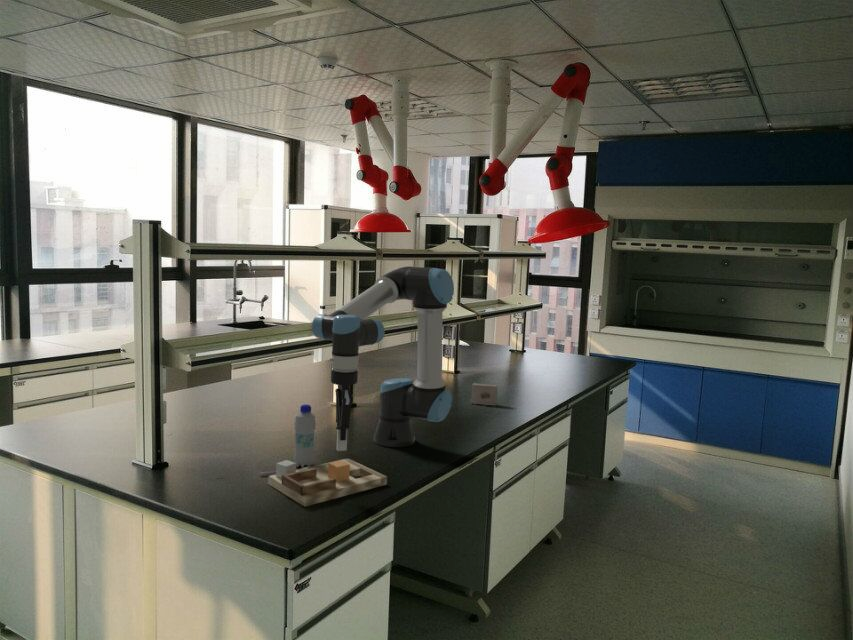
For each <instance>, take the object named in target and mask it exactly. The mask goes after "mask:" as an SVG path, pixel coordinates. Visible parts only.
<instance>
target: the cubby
mask: <svg viewBox="0 0 853 640" xmlns="http://www.w3.org/2000/svg"><path fill="white" fill-rule="evenodd" d="M316 475H317V469H316V468H312V469H308V470H303V471H299V472H294V473H290V474H286V475H282V484H283V485H285V486H286V487H288V488H290V489H291V490H293V491H295V492H296V493H298V494H300V495H301V496H304V495H308V494H312V493H316V492H320V491H324V490H328V489H332V488H335V487H336V479H335V478H332V479H327V480H323V481H319V482H315V483H311V484H307V485H302V484H301V483H299V482H298V481H302V480H306V479H310V478H314V477H316Z"/></svg>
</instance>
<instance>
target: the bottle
mask: <svg viewBox="0 0 853 640" xmlns="http://www.w3.org/2000/svg"><path fill="white" fill-rule="evenodd" d="M299 410H300V412H298V413H296V414H295V418H294V427H293V428H294V431H295V433H294V434H295V435H294V453H293V462H295V463H296V468H300V467H301V469H302V468H305V467H310V466H314V465H313V464H314V462H315V461H314V459H315V450H314V449H315V447H314V443H315V430H316V426H317V425H316V415H315V414H314V413H312V406H311V404H302V405H300V408H299Z"/></svg>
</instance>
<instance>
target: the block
mask: <svg viewBox="0 0 853 640" xmlns="http://www.w3.org/2000/svg"><path fill="white" fill-rule="evenodd" d="M275 465H276V467H275V468H276V469H275V471H276V477H279V478H282V475H286V474H290V473H294V472H296V470H297V466H296V463H295V462H294V461H291V460H288V459H285V460H282V461H279V462H277V463H276V464H275Z"/></svg>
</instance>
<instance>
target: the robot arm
mask: <svg viewBox="0 0 853 640" xmlns="http://www.w3.org/2000/svg"><path fill="white" fill-rule="evenodd" d="M454 293H455V286H454V280H453V278H452V275H451V274H450V272H449V271H448V270H446V269H443V268H437V267H424V266H423V267H421V266H411V265H409V266H403V267H399V268H396V269H393V270H392V271H389V272H387V273H385V274H384V275H381V276H380V277H379V278H377V279H376V281H375V282H374V285H371V287H369V288H367V289H366V290H364V291H363V292H361V293H360V294H359V295H357V296H356V297H353V298H352V299H351V300H349V301H347V302H346V303H345V304H344V305H342V306H341V307H339V308H337V309H336V310H335V311H333V312H331V313H329V314H325V313H324V314H323V313H322V314H317V315H315V316H314V318H313V320H312V323H311V331H312V334H313V335H314V337H316V338H317V339H323V340H325V341H332V342H331V343H332V346H331V347H332V348H331V349H332V351H331V357H330V358H329V361H330V362H331V368H332V369H331V371H330V383H332V384H333V385H336V386H337V388H335V390H334V391H335V423H336V427H335V429H336V451H337V452H344V451H345V452H346V451H347V450H348V448H347V446H348V429H350V424H351V411H352V402H353V398H352V396H353V395H352V394H353V392H352V389H351V386H352V385H356V384H357V383H358V377H359V376H358V373H359V372H358V369H359V349H360V347H364V346H372V345H375V344H377V343H380V342H381V341H382V340H384V338H385V337H384V336H385V332H386V331H385V325H384V324H383V323H382V321H380V320H379V319H376V318H368V317H370V316H372V315H373V314H374V313H376V312H377V311H379V310H380V309H382V307H383V306H385V305H387V304H392V303H395V302H396V301H398V300H400V301H401V300H407V301H412V302H413V305H412V306H413V308H414V309H415V311H416V312H417V347H416V348H417V351H416V354H417V355H416V357H417V360H416V361H417V363H416V365H417V366H416V367H417V370H416V371H417V374H416V375H417V376H416V377H417V378H416V379H415V380H414V381H413V379H412V378H406V377H404V378H400V377H399V378H390V379H386V380H384V381H382V382H381V385H380V391H379V395H380V396H379V399H380V400H379V417H378V418H379V419H378V422H377V425H376V429H375V431H374V434H373V442H374V443H375V444H377V445H379V446H381V447H382V446H383V447H387V448H404V447H410V446H412V445H414V444H415V440H416V436H415V433H414V427H413V425H412V418H415V419H419V420H424V421H427V422H435V423H438V422H439V423H441V422H442V421H443V420H445V419H446V417H447V416H448V414H449V412H450V410H451V407H452V402H453V394H452V393H451V391H450V390H449V389H446V388H447V385H446V381H445V380H443V377H442V376H443V375H442V374H443V372H442V369H443V368H442V366H443V362H442V361H443V360H442V359H443V312H444V311H445V310H446V309H447V308H448V304H450V303H451V302H452V300H453V297H454ZM367 318H368V319H367Z"/></svg>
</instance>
